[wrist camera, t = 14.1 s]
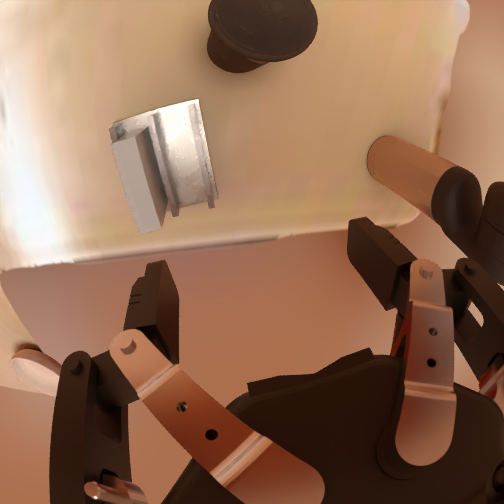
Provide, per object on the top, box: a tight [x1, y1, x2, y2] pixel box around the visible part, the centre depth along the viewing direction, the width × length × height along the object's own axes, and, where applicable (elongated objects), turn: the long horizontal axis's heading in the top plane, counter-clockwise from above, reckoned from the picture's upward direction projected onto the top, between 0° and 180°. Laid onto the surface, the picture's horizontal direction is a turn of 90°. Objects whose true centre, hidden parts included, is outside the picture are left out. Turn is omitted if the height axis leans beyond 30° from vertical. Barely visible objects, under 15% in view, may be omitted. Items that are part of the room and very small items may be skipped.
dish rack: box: [109, 99, 218, 217], centre depth 36 cm, size 13×16×5 cm
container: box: [207, 0, 318, 73], centre depth 23 cm, size 9×9×20 cm
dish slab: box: [111, 126, 168, 235], centre depth 33 cm, size 3×12×10 cm, turn 8°
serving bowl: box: [10, 349, 62, 397], centre depth 56 cm, size 21×21×7 cm
